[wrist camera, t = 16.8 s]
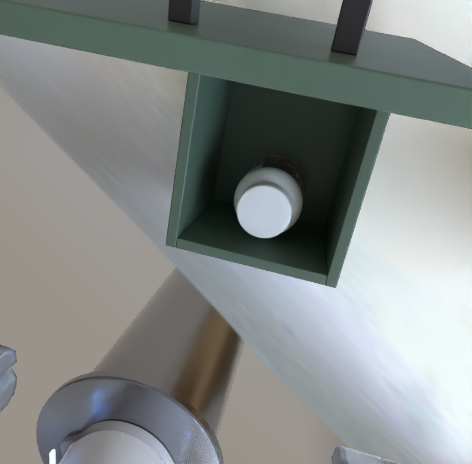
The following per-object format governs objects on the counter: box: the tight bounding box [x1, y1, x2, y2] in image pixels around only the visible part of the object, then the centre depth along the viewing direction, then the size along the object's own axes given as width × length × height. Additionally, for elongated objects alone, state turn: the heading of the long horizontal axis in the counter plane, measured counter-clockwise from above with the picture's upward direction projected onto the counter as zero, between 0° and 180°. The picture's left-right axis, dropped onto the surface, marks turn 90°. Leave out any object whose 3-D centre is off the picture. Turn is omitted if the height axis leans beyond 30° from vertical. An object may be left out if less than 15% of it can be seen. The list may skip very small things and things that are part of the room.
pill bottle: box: [234, 156, 305, 238], centre depth 33 cm, size 5×5×10 cm
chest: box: [166, 72, 390, 288], centre depth 32 cm, size 16×13×12 cm
